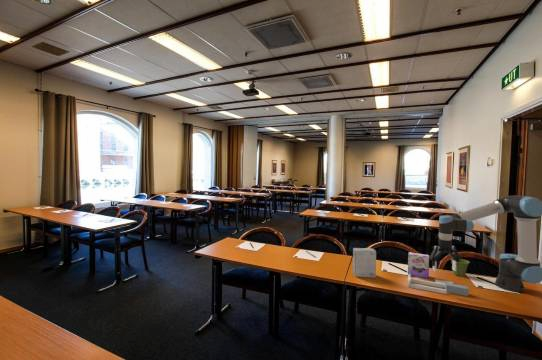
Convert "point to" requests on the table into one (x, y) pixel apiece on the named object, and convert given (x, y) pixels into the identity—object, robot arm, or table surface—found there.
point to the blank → (456, 289)
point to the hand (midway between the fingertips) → (444, 270)
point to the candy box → (418, 265)
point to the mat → (442, 282)
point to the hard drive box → (364, 262)
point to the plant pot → (461, 267)
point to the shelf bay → (426, 286)
